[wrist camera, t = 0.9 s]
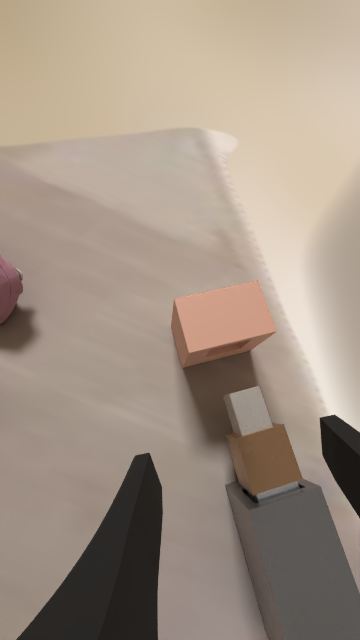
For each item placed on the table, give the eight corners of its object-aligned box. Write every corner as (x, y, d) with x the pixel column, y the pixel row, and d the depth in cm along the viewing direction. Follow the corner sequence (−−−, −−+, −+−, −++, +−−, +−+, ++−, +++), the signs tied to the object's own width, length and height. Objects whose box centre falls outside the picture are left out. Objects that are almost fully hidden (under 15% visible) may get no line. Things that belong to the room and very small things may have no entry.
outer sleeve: (324, 604, 22) (392, 685, 16) (264, 628, 22) (310, 722, 15) (278, 467, 25) (320, 486, 19) (225, 484, 25) (248, 510, 18)
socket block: (250, 350, 28) (276, 331, 22) (182, 367, 28) (189, 352, 21) (236, 310, 30) (257, 280, 23) (171, 325, 29) (174, 298, 22)
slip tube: (333, 624, 20) (368, 667, 16) (285, 644, 19) (312, 693, 16) (254, 387, 25) (269, 382, 21) (214, 398, 24) (223, 395, 21)
